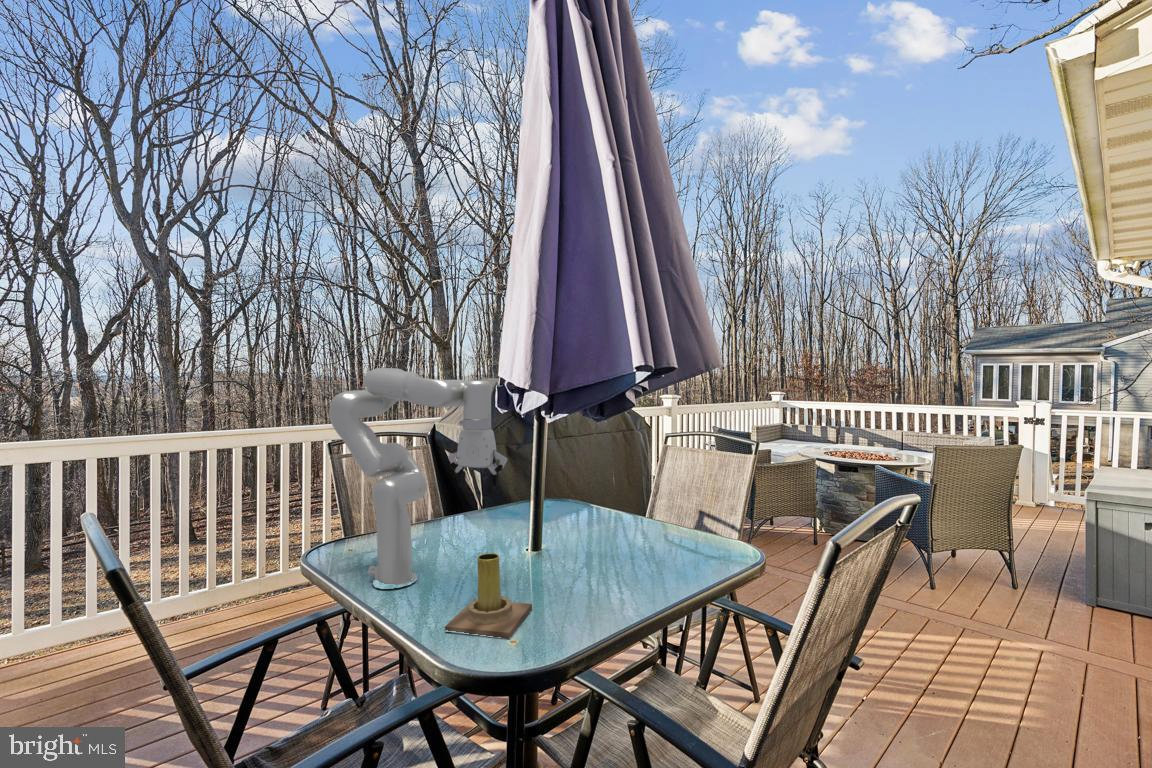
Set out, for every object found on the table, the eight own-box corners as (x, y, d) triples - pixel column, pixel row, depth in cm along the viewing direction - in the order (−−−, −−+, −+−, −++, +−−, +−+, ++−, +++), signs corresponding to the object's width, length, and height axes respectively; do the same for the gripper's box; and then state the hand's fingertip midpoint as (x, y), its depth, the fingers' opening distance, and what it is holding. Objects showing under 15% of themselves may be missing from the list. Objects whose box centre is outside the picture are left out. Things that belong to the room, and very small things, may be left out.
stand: (445, 632, 125) (444, 615, 125) (474, 604, 141) (474, 589, 141) (509, 639, 121) (508, 621, 121) (532, 609, 137) (531, 594, 137)
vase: (471, 616, 130) (470, 557, 130) (489, 607, 135) (487, 550, 135) (490, 622, 127) (489, 562, 127) (507, 612, 132) (506, 554, 132)
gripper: (442, 425, 146) (442, 488, 146) (500, 427, 141) (500, 492, 141) (455, 423, 153) (455, 483, 153) (511, 424, 148) (511, 486, 148)
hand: (477, 487), depth 147 cm, fingers open, 9 cm apart
